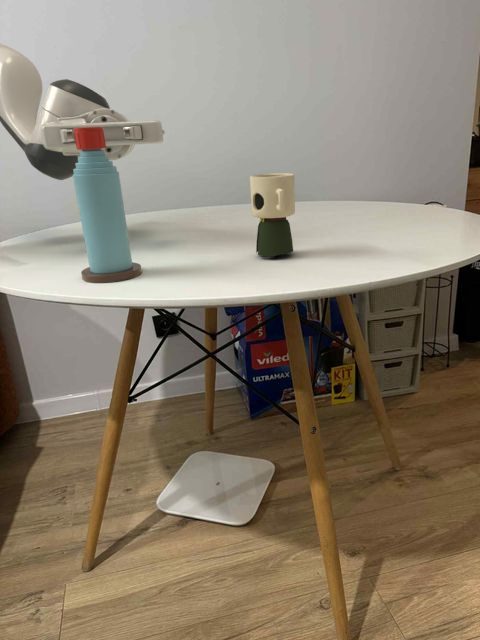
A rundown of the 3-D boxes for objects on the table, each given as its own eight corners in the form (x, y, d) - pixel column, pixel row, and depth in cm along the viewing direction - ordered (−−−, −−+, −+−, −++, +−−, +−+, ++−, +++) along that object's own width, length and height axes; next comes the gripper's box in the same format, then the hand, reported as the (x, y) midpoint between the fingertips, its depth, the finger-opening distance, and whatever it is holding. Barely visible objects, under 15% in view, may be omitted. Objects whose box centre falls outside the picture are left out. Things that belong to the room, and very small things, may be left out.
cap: (72, 149, 71) (68, 128, 70) (97, 148, 73) (94, 127, 72) (85, 149, 68) (81, 127, 67) (111, 147, 71) (108, 126, 70)
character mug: (247, 251, 89) (242, 174, 84) (285, 247, 91) (283, 171, 86) (263, 265, 79) (259, 178, 74) (305, 260, 81) (304, 175, 76)
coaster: (72, 276, 78) (70, 270, 78) (123, 265, 84) (122, 259, 83) (99, 286, 72) (98, 279, 72) (153, 273, 78) (152, 266, 77)
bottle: (82, 269, 78) (56, 133, 70) (119, 261, 82) (98, 131, 74) (103, 275, 74) (77, 131, 66) (140, 267, 78) (120, 129, 70)
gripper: (166, 150, 96) (166, 151, 83) (55, 155, 93) (37, 158, 80) (162, 113, 93) (161, 109, 81) (48, 118, 91) (28, 114, 78)
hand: (98, 133), depth 81 cm, fingers open, 8 cm apart
